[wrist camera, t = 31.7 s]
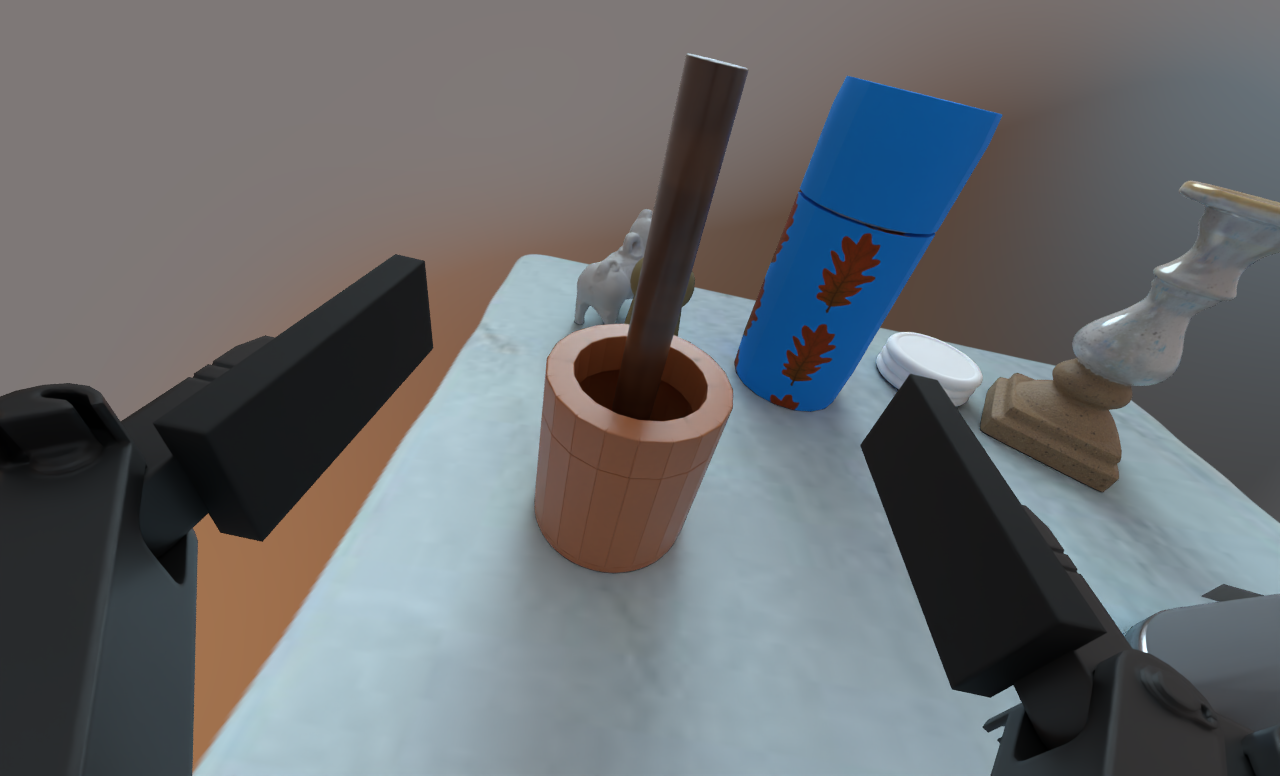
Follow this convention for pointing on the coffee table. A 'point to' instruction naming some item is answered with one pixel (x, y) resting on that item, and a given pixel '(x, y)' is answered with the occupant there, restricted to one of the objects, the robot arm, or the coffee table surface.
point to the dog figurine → (612, 275)
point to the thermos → (856, 236)
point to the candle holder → (1131, 344)
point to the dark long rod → (677, 224)
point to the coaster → (929, 364)
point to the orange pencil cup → (623, 450)
